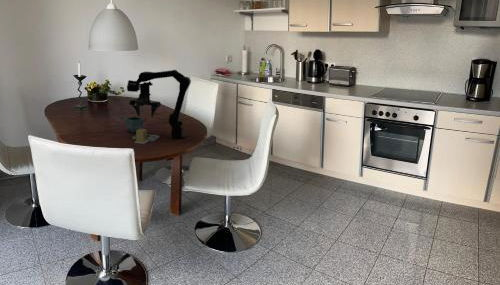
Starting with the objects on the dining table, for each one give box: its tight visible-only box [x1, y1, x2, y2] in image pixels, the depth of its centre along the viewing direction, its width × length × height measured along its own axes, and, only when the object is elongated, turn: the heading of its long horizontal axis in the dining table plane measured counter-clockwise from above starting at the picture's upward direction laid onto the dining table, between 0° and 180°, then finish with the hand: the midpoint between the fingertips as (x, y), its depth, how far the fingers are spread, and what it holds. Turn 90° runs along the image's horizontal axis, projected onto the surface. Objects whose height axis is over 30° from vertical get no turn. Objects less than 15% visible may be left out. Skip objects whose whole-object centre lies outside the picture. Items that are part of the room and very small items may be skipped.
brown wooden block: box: [135, 128, 148, 142], centre depth 224 cm, size 4×4×7 cm
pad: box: [134, 140, 150, 145], centre depth 225 cm, size 6×6×1 cm
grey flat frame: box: [131, 134, 160, 142], centre depth 232 cm, size 14×8×2 cm, turn 79°
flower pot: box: [124, 116, 144, 133], centre depth 245 cm, size 9×9×9 cm
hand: (145, 116), depth 235 cm, fingers open, 9 cm apart
